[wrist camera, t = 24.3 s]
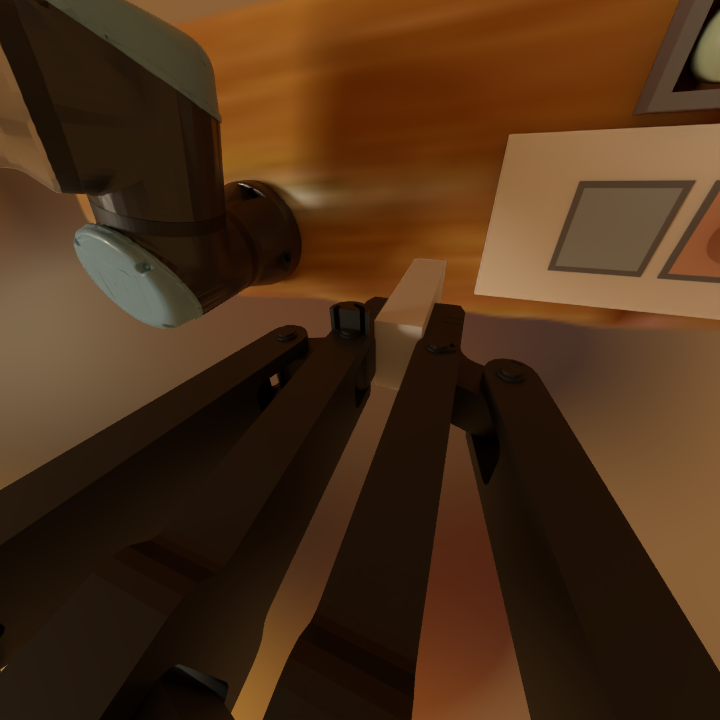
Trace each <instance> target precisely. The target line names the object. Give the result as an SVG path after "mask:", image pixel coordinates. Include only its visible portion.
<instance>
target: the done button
mask: <svg viewBox="0 0 720 720" xmlns="http://www.w3.org/2000/svg"><path fill="white" fill-rule="evenodd" d="M690 69H691V72H692V74H693V76H694V77H695V78H696V79H697V80H698V81H700V82H703V83H707V84H717V83H720V9H718V11H717V12H716V13H715V14H714V15H713V16H712V17H711V18H710V19H709V21H708V22H707V23H706V24H705V26H704V27H703V29H702V30H701V32H700V33H699V35H698V37H697V39H696V41H695V43H694V46H693V48H692V52H691V56H690Z"/></svg>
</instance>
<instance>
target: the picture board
mask: <svg viewBox="0 0 720 720" xmlns="http://www.w3.org/2000/svg"><path fill="white" fill-rule="evenodd" d="M719 227H720V124H703V125H683V126H664V127H644V128H624V129H605V130H585V131H565V132H545V133H526V134H509V136H508V141H507V145H506V150H505V155H504V159H503V164H502V168H501V173H500V177H499V182H498V186H497V191H496V195H495V200H494V204H493V209H492V213H491V218H490V223H489V227H488V232H487V236H486V241H485V245H484V250H483V254H482V259H481V263H480V268H479V272H478V277H477V282H476V286H475V291H474V294H477V295H487V296H496V297H506V298H516V299H525V300H535V301H544V302H554V303H563V304H573V305H583V306H592V307H602V308H611V309H621V310H630V311H640V312H649V313H659V314H669V315H678V316H688V317H697V318H707V319H716V320H720V264H718V263H716V262H714V261H713V260H711V259H710V257H709V256H708V254H707V244H708V241H709V239H710V238H711V236H712V235H713V233H714V232H715V231H716V230H717V229H718V228H719Z"/></svg>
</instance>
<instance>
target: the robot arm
mask: <svg viewBox="0 0 720 720" xmlns="http://www.w3.org/2000/svg"><path fill="white" fill-rule="evenodd" d="M220 123H222V119H221V115H220V114H219V110H218V102H217V94H216V86H215V76H214V71H213V67H212V64H211V62H210V59H209V58H208V56H207V54H206V52H205V51H204V50H203V48H202V47H201V46H200V45H199V44H198V43H197V42H196V41H195V40H194V39H193V38H191V37H190V36H189V35H187V34H186V33H184V32H182V31H181V30H179V29H177V28H176V27H174V26H172V25H170V24H169V23H167V22H165V21H163V20H162V19H160V18H158V17H156V16H154V15H152V14H151V13H149V12H147V11H145V10H143V9H141V8H139V7H138V6H135V5H134V4H132V3H130V2H128V1H126V0H0V167H4V168H15V169H18V170H20V171H23V172H25V173H27V174H28V175H30V176H31V177H33V178H35V179H36V180H38V181H39V182H41V183H42V184H44V185H46V186H47V187H49V188H50V189H52V190H53V191H55V192H58V193H69V194H70V193H71V194H86V195H87V197H88V200H89V202H90V205H91V208H92V210H93V214H94V216H95V220H96V224H94V223H89V224H86V225H84V226H83V228H81V229H79V230H78V231H77V232H76V234H75V239H74V247H75V250H76V253H77V256H78V258H79V260H80V262H81V263H82V265H83V267H84V268H85V270H86V271H87V273H88V274H89V276H90V277H91V278H92V279H93V281H94V282H95V283H96V284H97V285H98V287H99V288H100V289H101V290H102V291H103V292H104V293H105V294H106V295H107V296H108V297H109V298H110V299H111V300H113V301H114V302H115V303H116V304H117V305H118V306H119V307H121V308H122V309H123V310H124V311H126V312H127V313H129V314H130V315H132V316H133V317H135V318H136V319H138V320H140V321H142V322H144V323H146V324H148V325H151V326H154V327H157V328H163V329H172V328H176V327H179V326H181V325H183V324H185V323H187V322H189V321H191V320H193V319H198V318H200V317H201V316H202V315H204V314H205V313H207V312H209V311H210V310H212V309H214V308H215V307H217V306H218V305H220V304H222V303H223V302H225V301H226V300H228V299H230V298H231V297H233V296H234V295H236V294H238V293H239V292H241V291H242V290H244V289H246V288H247V287H250V286H261V285H271V284H275V283H278V282H280V281H282V280H283V279H285V278H286V277H288V276H289V275H290V274H291V273H292V272H293V271H294V270H295V268H296V267H297V265H298V262H299V259H300V255H301V238H300V233H299V229H298V226H297V223H296V220H295V218H294V216H293V214H292V212H291V210H290V209H289V207H288V206H287V204H286V203H285V202H284V200H283V199H282V198H281V197H280V196H279V195H278V194H277V193H276V192H275V191H273V190H272V189H271V188H269V187H268V186H266V185H264V184H262V183H259V182H256V181H252V180H242V181H236V182H231V183H228V184H226V185H224V178H223V165H222V149H221V132H220ZM446 263H447V260H439V259H425V258H415V259H414V261H413V262H412V264H411V265H410V267H409V268H408V270H407V271H406V273H405V274H404V276H403V277H402V279H401V281H400V282H399V284H398V285H397V287H396V288H395V290H394V291H393V293H392V294H391V296H390V297H389V298H383V297H374V298H372V299H370V300H368V301H367V302H366V303H365V304H363V303H360V302H354V301H347V302H340V303H337V304H335V305H333V306H331V307H330V316H331V326H332V331H331V332H330V333H329V334H328V335H327V336H326V337H324V338H308V334H307V331H306V329H305V328H303V327H301V326H296V325H286V326H283V327H279V328H277V329H275V330H273V331H271V332H269V333H268V334H266V335H264V336H263V337H261V338H259V339H257V340H256V341H254V342H252V343H251V344H249V345H247V346H245V347H244V348H242V349H240V350H239V351H237V352H235V353H234V354H232V355H230V356H228V357H227V358H225V359H223V360H222V361H220V362H218V363H216V364H215V365H213V366H211V367H210V368H208V369H206V370H205V371H203V372H201V373H200V374H198V375H196V376H195V377H193V378H191V379H189V380H187V381H186V382H184V383H182V384H181V385H179V386H177V387H176V388H174V389H172V390H170V391H169V392H167V393H166V394H164V395H162V396H160V397H158V398H157V399H155V400H154V401H152V402H150V403H148V404H147V405H145V406H143V407H141V408H140V409H138V410H136V411H135V412H133V413H131V414H130V415H128V416H126V417H124V418H123V419H121V420H119V421H117V422H116V423H114V424H112V425H111V426H109V427H107V428H106V429H104V430H102V431H100V432H99V433H97V434H95V435H94V436H92V437H90V438H89V439H87V440H85V441H83V442H82V443H80V444H78V445H77V446H75V447H73V448H72V449H70V450H68V451H66V452H65V453H63V454H61V455H59V456H58V457H56V458H54V459H53V460H51V461H49V462H48V463H46V464H44V465H42V466H41V467H39V468H37V469H36V470H34V471H32V472H31V473H29V474H27V475H25V476H24V477H22V478H20V479H19V480H17V481H15V482H13V483H12V484H10V485H8V486H7V487H5V488H3V489H2V490H0V669H2V668H3V667H5V666H6V665H7V666H6V667H5V668H4V669H3V670H2V671H1V670H0V720H235V719H234V718H233V716H232V715H231V712H232V709H233V707H234V705H235V703H236V701H237V698H238V696H239V694H240V692H241V689H242V687H243V685H244V683H245V681H246V679H247V676H248V674H249V672H250V670H251V668H252V665H253V663H254V660H255V658H256V655H257V653H258V650H259V647H260V643H261V640H262V635H263V628H264V622H265V619H266V616H267V613H268V611H269V608H270V606H271V604H272V602H273V599H274V598H275V595H276V593H277V591H278V589H279V587H280V585H281V583H282V581H283V578H284V576H285V574H286V572H287V570H288V568H289V565H290V563H291V561H292V559H293V557H294V555H295V553H296V551H297V549H298V547H299V544H300V542H301V540H302V538H303V536H304V534H305V532H306V530H307V528H308V525H309V523H310V521H311V519H312V517H313V515H314V513H315V510H316V508H317V506H318V504H319V502H320V500H321V498H322V495H323V494H324V491H325V489H326V487H327V485H328V483H329V481H330V479H331V477H332V474H333V472H334V470H335V468H336V466H337V464H338V462H339V460H340V458H341V455H342V453H343V451H344V449H345V447H346V445H347V443H348V441H349V438H350V436H351V434H352V432H353V430H354V428H355V426H356V423H357V421H358V419H359V417H360V415H361V413H362V411H363V409H364V407H365V404H366V402H367V400H368V398H369V396H370V392H371V381H372V379H373V377H374V375H375V386H379V387H384V388H389V389H393V390H398V393H397V396H396V399H395V402H394V404H393V407H392V410H391V412H390V415H389V417H388V420H387V423H386V425H385V428H384V431H383V434H382V436H381V439H380V442H379V444H378V447H377V450H376V453H375V455H374V458H373V460H372V463H371V466H370V469H369V471H368V474H367V476H366V480H365V482H364V485H363V487H362V490H361V493H360V495H359V498H358V501H357V503H356V506H355V509H354V511H353V514H352V517H351V520H350V522H349V525H348V527H347V530H346V533H345V536H344V538H343V541H342V544H341V547H340V549H339V552H338V554H337V557H336V560H335V562H334V565H333V568H332V571H331V573H330V576H329V578H328V581H327V584H326V586H325V589H324V592H323V595H322V597H321V600H320V602H319V605H318V607H317V610H316V612H315V614H314V616H313V618H312V620H311V622H310V623H309V624H308V626H307V627H306V628H305V630H304V631H303V632H302V634H301V635H300V636H299V638H298V640H297V642H296V643H295V645H294V648H293V649H292V651H291V653H290V655H289V657H288V659H287V662H286V664H285V666H284V668H283V671H282V673H281V676H280V678H279V680H278V682H277V685H276V688H275V690H274V692H273V695H272V698H271V700H270V703H269V705H268V708H267V710H266V713H265V716H264V718H263V720H411V719H412V709H413V700H414V685H415V684H414V683H415V671H416V662H417V655H418V647H419V640H420V633H421V626H422V619H423V612H424V604H425V598H426V591H427V584H428V577H429V570H430V563H431V556H432V549H433V541H434V535H435V528H436V521H437V514H438V506H439V500H440V493H441V486H442V479H443V472H444V464H445V457H446V451H447V443H448V436H449V429H450V423H451V424H453V425H455V426H457V427H459V428H461V429H463V430H465V431H466V439H467V444H468V448H469V452H470V457H471V461H472V465H473V470H474V474H475V478H476V483H477V487H478V492H479V496H480V500H481V505H482V509H483V513H484V518H485V522H486V526H487V531H488V535H489V539H490V543H491V548H492V552H493V557H494V561H495V565H496V570H497V573H498V578H499V582H500V587H501V591H502V596H503V600H504V604H505V609H506V613H507V617H508V621H509V626H510V631H511V635H512V639H513V644H514V648H515V652H516V657H517V661H518V665H519V670H520V674H521V678H522V683H523V687H524V691H525V695H526V700H527V704H528V709H529V713H530V717H531V720H720V672H719V670H718V668H717V667H716V665H715V664H714V662H713V660H712V659H711V657H710V655H709V654H708V652H707V650H706V649H705V647H704V645H703V644H702V642H701V640H700V639H699V637H698V636H697V634H696V632H695V631H694V629H693V628H692V626H691V624H690V623H689V621H688V619H687V618H686V616H685V614H684V613H683V611H682V610H681V608H680V606H679V605H678V603H677V601H676V600H675V598H674V596H673V595H672V593H671V591H670V590H669V588H668V587H667V585H666V583H665V582H664V580H663V578H662V577H661V575H660V573H659V572H658V570H657V569H656V567H655V565H654V564H653V562H652V561H651V559H650V557H649V555H648V554H647V552H646V551H645V549H644V547H643V546H642V544H641V542H640V541H639V539H638V538H637V536H636V534H635V533H634V531H633V530H632V528H631V526H630V524H629V523H628V521H627V520H626V518H625V516H624V515H623V513H622V511H621V510H620V508H619V507H618V505H617V503H616V502H615V500H614V498H613V497H612V495H611V493H610V492H609V491H608V488H607V487H606V485H605V484H604V482H603V480H602V479H601V477H600V475H599V474H598V472H597V471H596V469H595V467H594V466H593V464H592V462H591V461H590V459H589V457H588V456H587V454H586V453H585V451H584V449H583V448H582V446H581V444H580V443H579V441H578V439H577V438H576V436H575V435H574V433H573V432H572V430H571V428H570V426H569V425H568V423H567V421H566V420H565V418H564V417H563V415H562V413H561V412H560V410H559V408H558V407H557V405H556V404H555V402H554V400H553V399H552V397H551V395H550V394H549V392H548V391H547V389H546V387H545V385H544V384H543V382H542V381H541V379H540V377H539V376H538V374H537V373H536V372H535V371H534V370H533V369H532V368H531V367H529V366H527V365H525V364H524V363H521V362H519V361H516V360H511V359H504V358H503V359H494V360H492V361H489V362H488V363H487V364H486V365H485V366H483V365H481V364H478V363H476V362H473V361H471V360H470V359H468V358H467V357H466V356H465V355H464V354H463V353H462V351H461V349H460V345H461V338H462V331H463V324H464V316H465V311H464V310H463V309H462V307H461V306H458V305H450V304H441V297H442V290H443V283H444V277H445V270H446ZM275 374H277V378H278V381H279V383H278V384H277V385H274V386H271V382H270V379H269V378H270V377H272V376H273V375H275Z"/></svg>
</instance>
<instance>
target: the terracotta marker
mask: <svg viewBox="0 0 720 720" xmlns="http://www.w3.org/2000/svg"><path fill="white" fill-rule="evenodd" d="M707 254H708V256H709V257H710V259H711V260H713V261H714V262H716V263H718V264H720V227H719V228H718V229H717V230H716V231H715V232H714V233H713V235H712V236H711V238H710V239H709V241H708V244H707Z"/></svg>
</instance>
